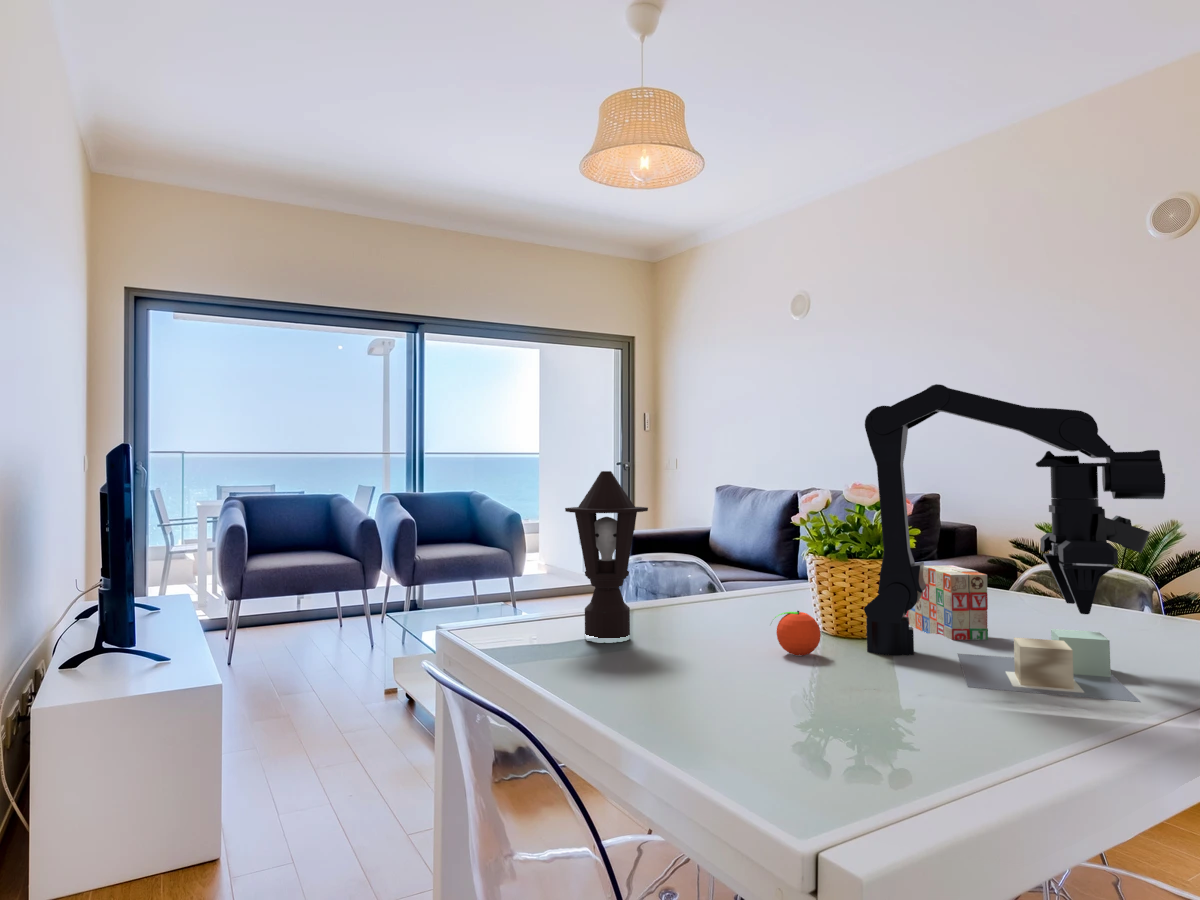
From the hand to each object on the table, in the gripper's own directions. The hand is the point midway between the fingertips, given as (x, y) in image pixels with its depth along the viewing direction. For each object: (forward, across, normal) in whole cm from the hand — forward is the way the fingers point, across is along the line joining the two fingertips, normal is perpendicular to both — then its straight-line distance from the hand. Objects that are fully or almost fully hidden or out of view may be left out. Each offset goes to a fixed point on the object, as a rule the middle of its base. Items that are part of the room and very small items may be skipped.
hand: (1077, 608), depth 107 cm
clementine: (+10, 0, +39) cm, 41 cm away
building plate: (+10, -5, +6) cm, 12 cm away
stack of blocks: (+10, +26, +16) cm, 33 cm away
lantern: (+10, +1, +72) cm, 73 cm away
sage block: (+9, 0, 0) cm, 9 cm away
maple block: (+9, -9, +6) cm, 14 cm away
